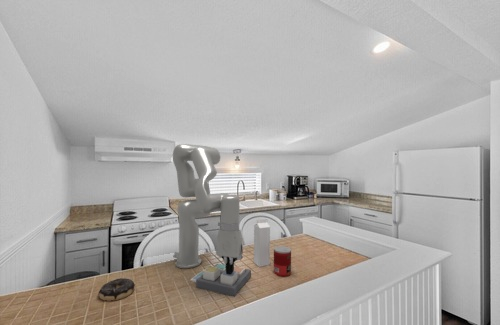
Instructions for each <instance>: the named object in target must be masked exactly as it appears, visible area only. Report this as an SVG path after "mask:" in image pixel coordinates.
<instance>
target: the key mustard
mask: <svg viewBox="0 0 500 325" xmlns="http://www.w3.org/2000/svg"><path fill="white" fill-rule="evenodd" d="M204 269H205V270H204ZM204 269H203V270H204V271H203V270H202V271H203V279H206V280H210V281H215V280H216V279H217V278H218V277H219V276H220V268H218V267H214V265H213V266H212V265H209V266H208V267H207V268H204Z"/></svg>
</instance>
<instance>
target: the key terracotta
mask: <svg viewBox="0 0 500 325" xmlns="http://www.w3.org/2000/svg"><path fill="white" fill-rule="evenodd" d="M245 269H246V268H242V267H238V266H234V271H236V272H238V275H237V276H240V277H241V276H242V275H243V274H244V273H245Z"/></svg>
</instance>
